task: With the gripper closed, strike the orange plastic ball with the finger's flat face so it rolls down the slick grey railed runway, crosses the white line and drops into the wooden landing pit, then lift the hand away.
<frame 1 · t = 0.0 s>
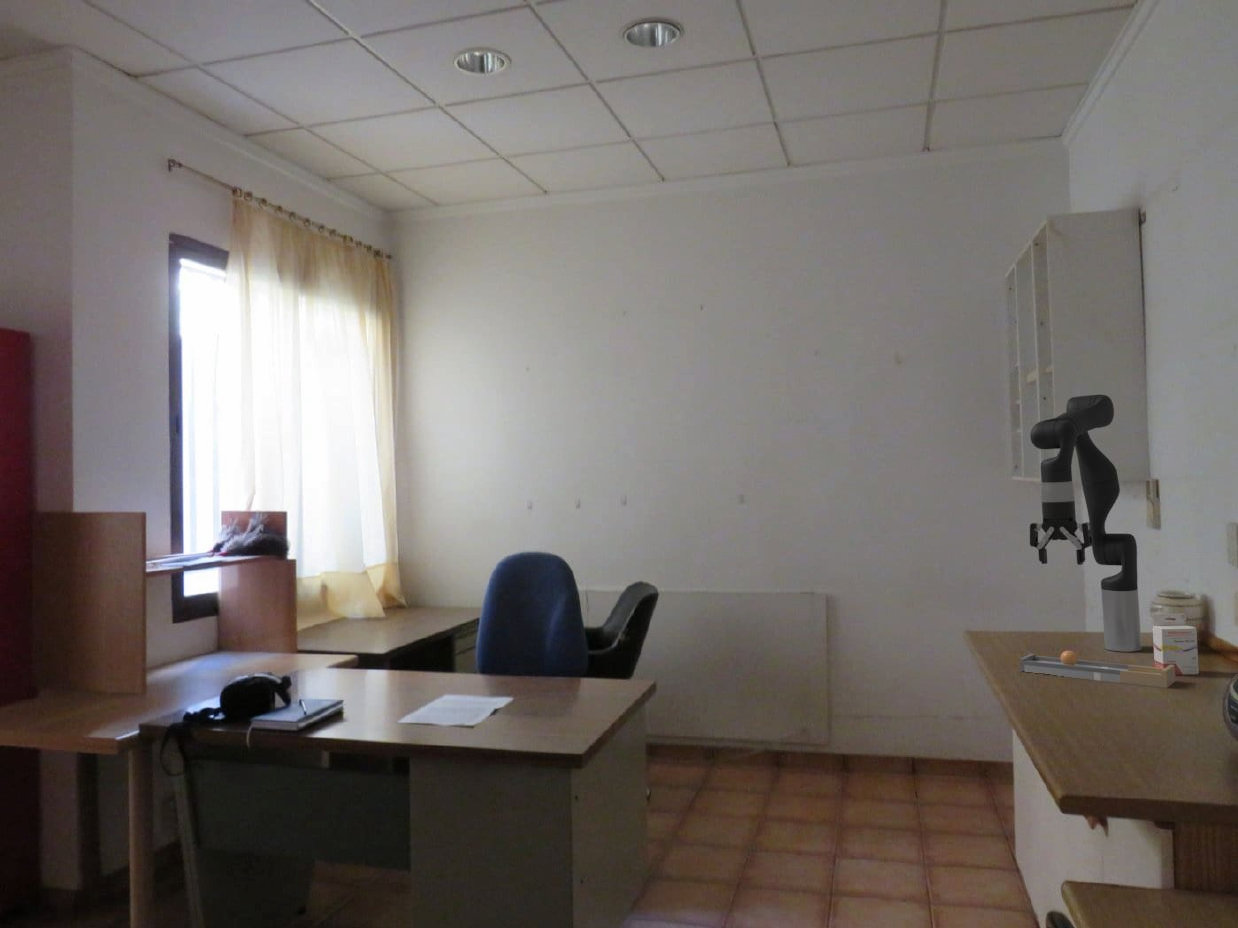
hand: (1062, 563, 227), 29 cm above the table, tool pointing down, fingers open, 8 cm apart
lane: (1099, 676, 228), on the table
ink cartridge box: (1177, 673, 228), on the table
ball: (1069, 658, 233), point 4 cm above the table, touching lane
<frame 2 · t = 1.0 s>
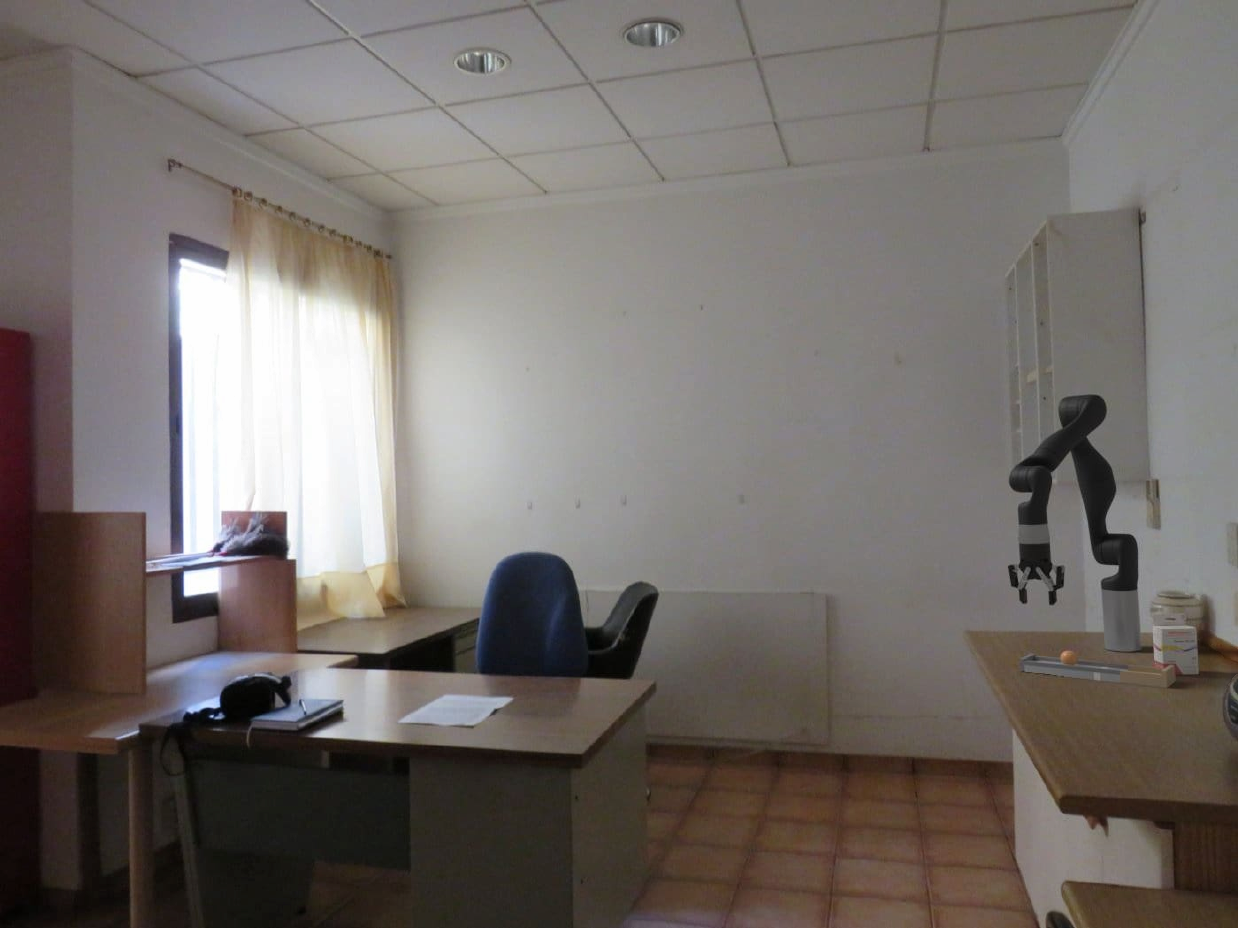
hand: (1038, 603, 238), 18 cm above the table, tool pointing down, fingers open, 6 cm apart
nothing on the table moved.
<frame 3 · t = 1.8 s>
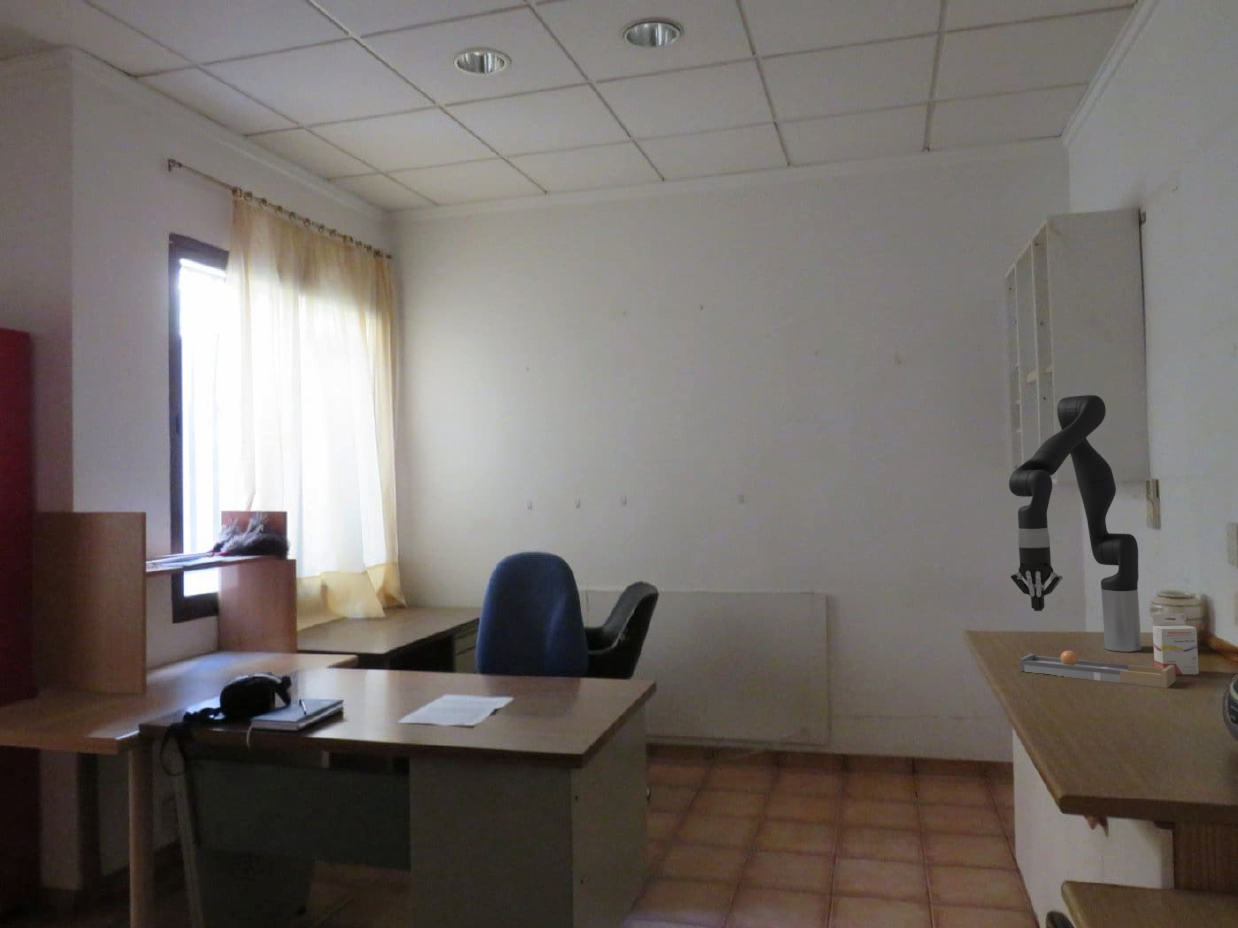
hand: (1038, 610, 238), 16 cm above the table, tool pointing down, fingers closed
nothing on the table moved.
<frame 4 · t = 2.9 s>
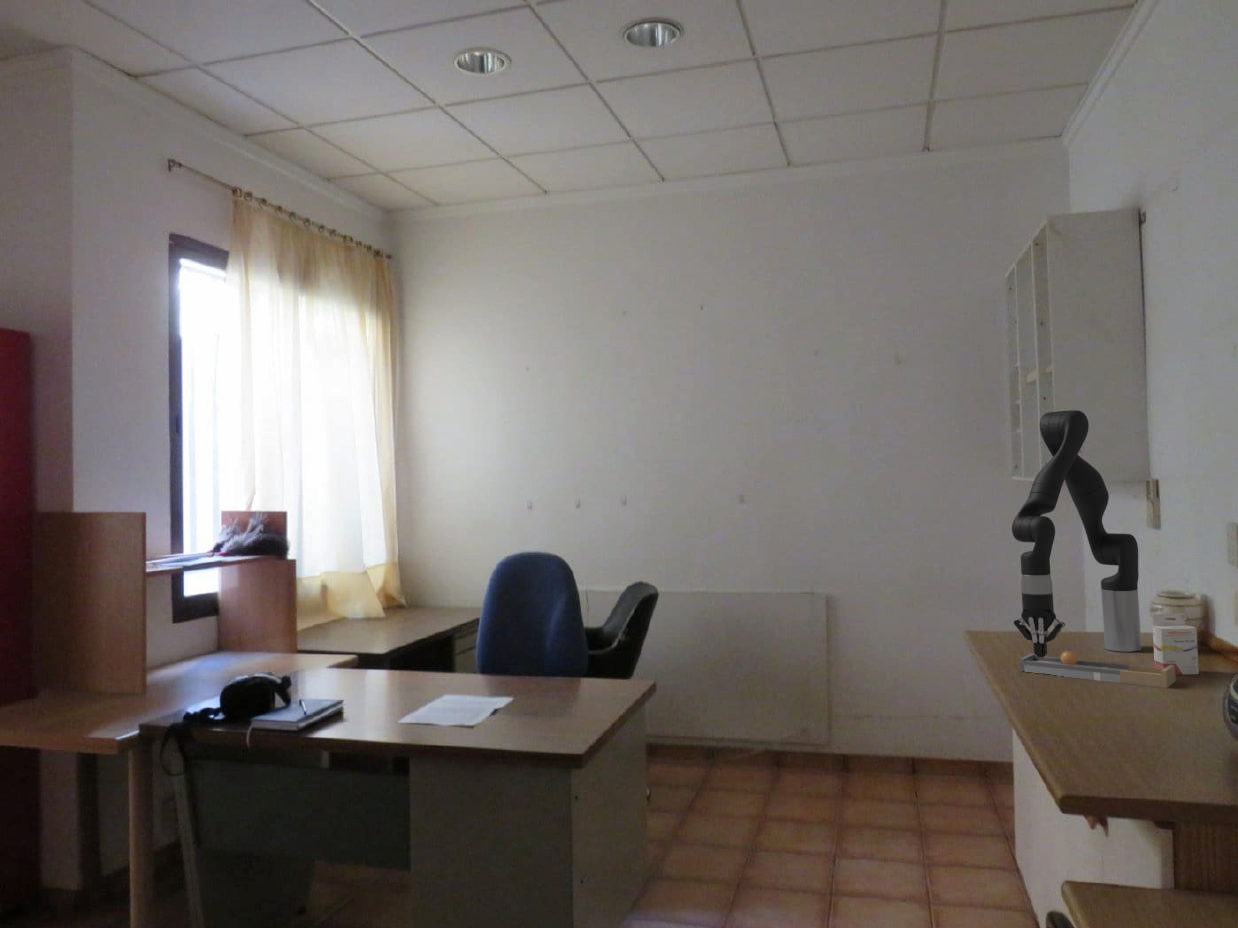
hand: (1040, 656, 237), 4 cm above the table, tool pointing down, fingers closed
nothing on the table moved.
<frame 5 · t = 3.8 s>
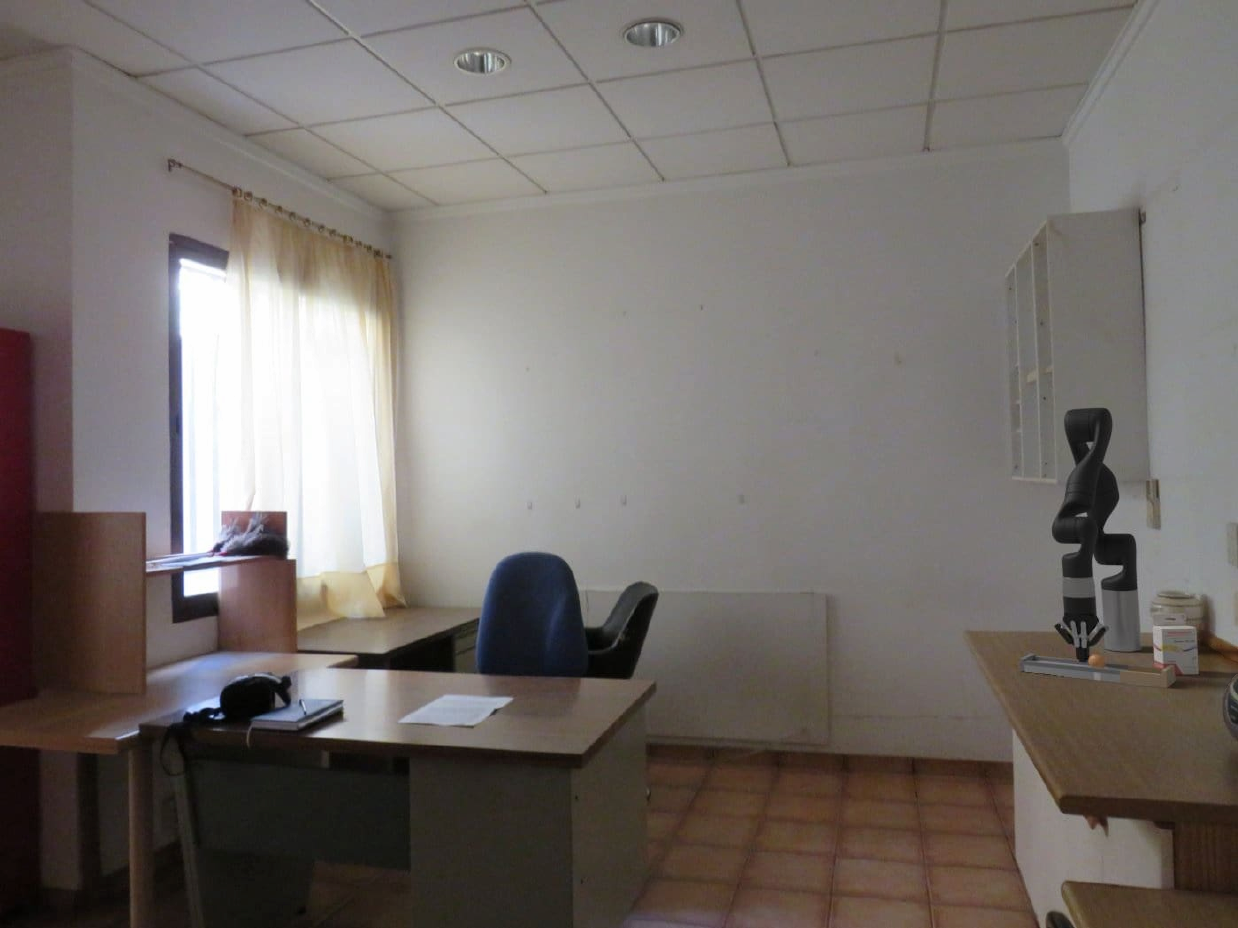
hand: (1083, 661, 230), 4 cm above the table, tool pointing down, fingers closed
ball: (1097, 661, 228), point 4 cm above the table, tilted 46°, touching lane
everything else where it was.
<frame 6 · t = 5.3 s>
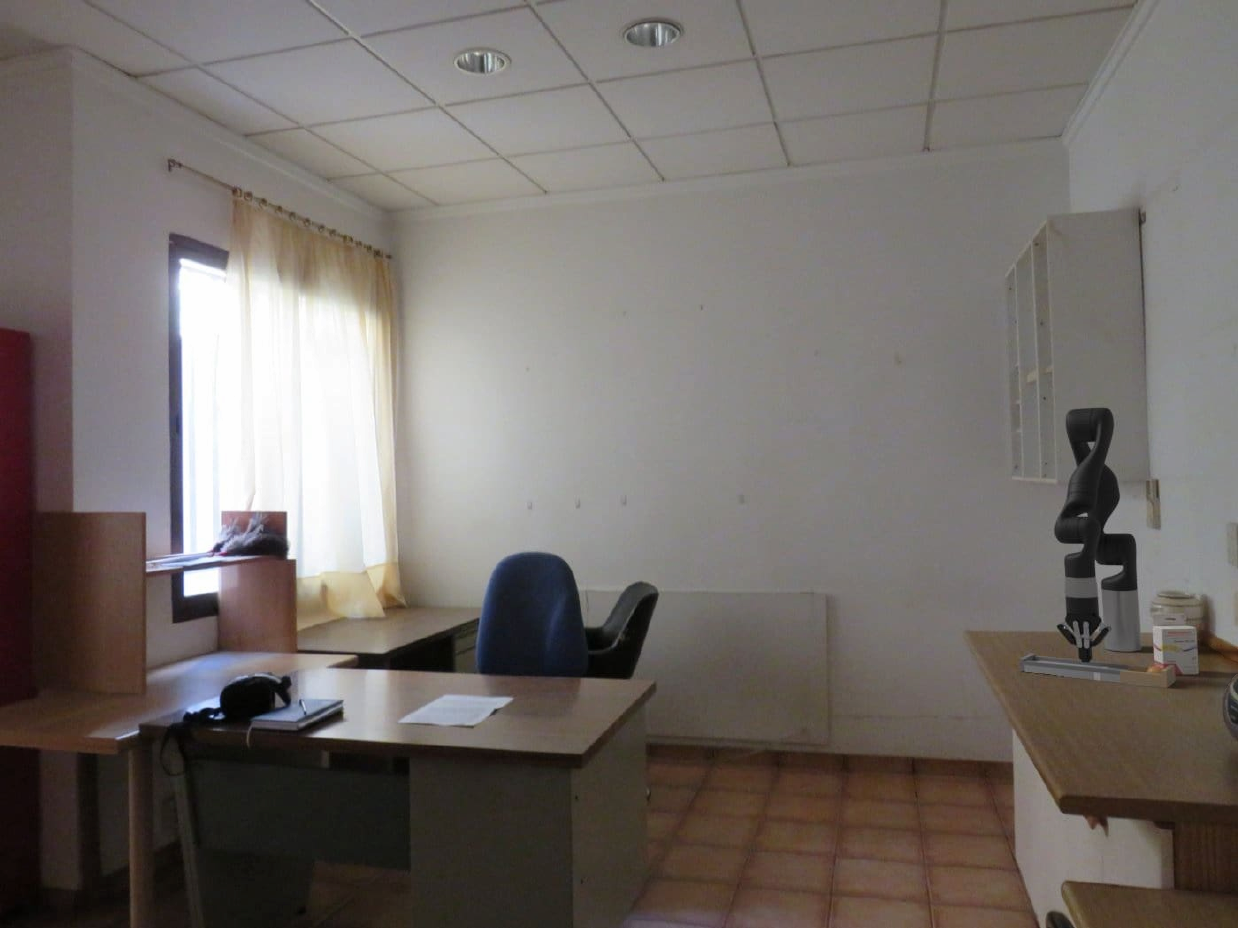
hand: (1085, 661, 230), 4 cm above the table, tool pointing down, fingers closed
ball: (1155, 674, 218), point 2 cm above the table, tilted 60°, touching lane
everything else where it was.
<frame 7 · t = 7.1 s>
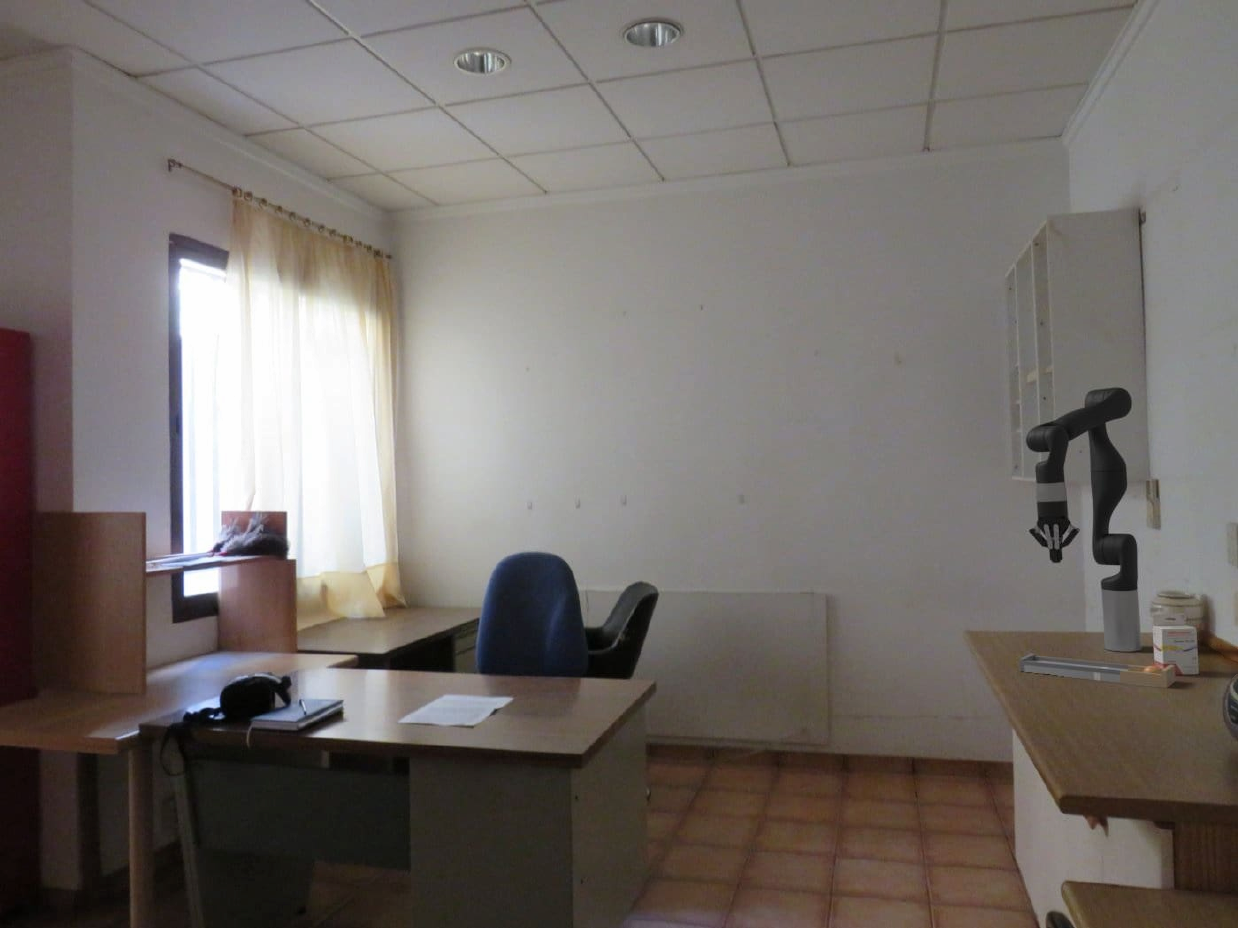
hand: (1056, 562, 245), 28 cm above the table, tool pointing down, fingers closed
ball: (1152, 673, 219), point 2 cm above the table, tilted 38°, touching lane
everything else where it was.
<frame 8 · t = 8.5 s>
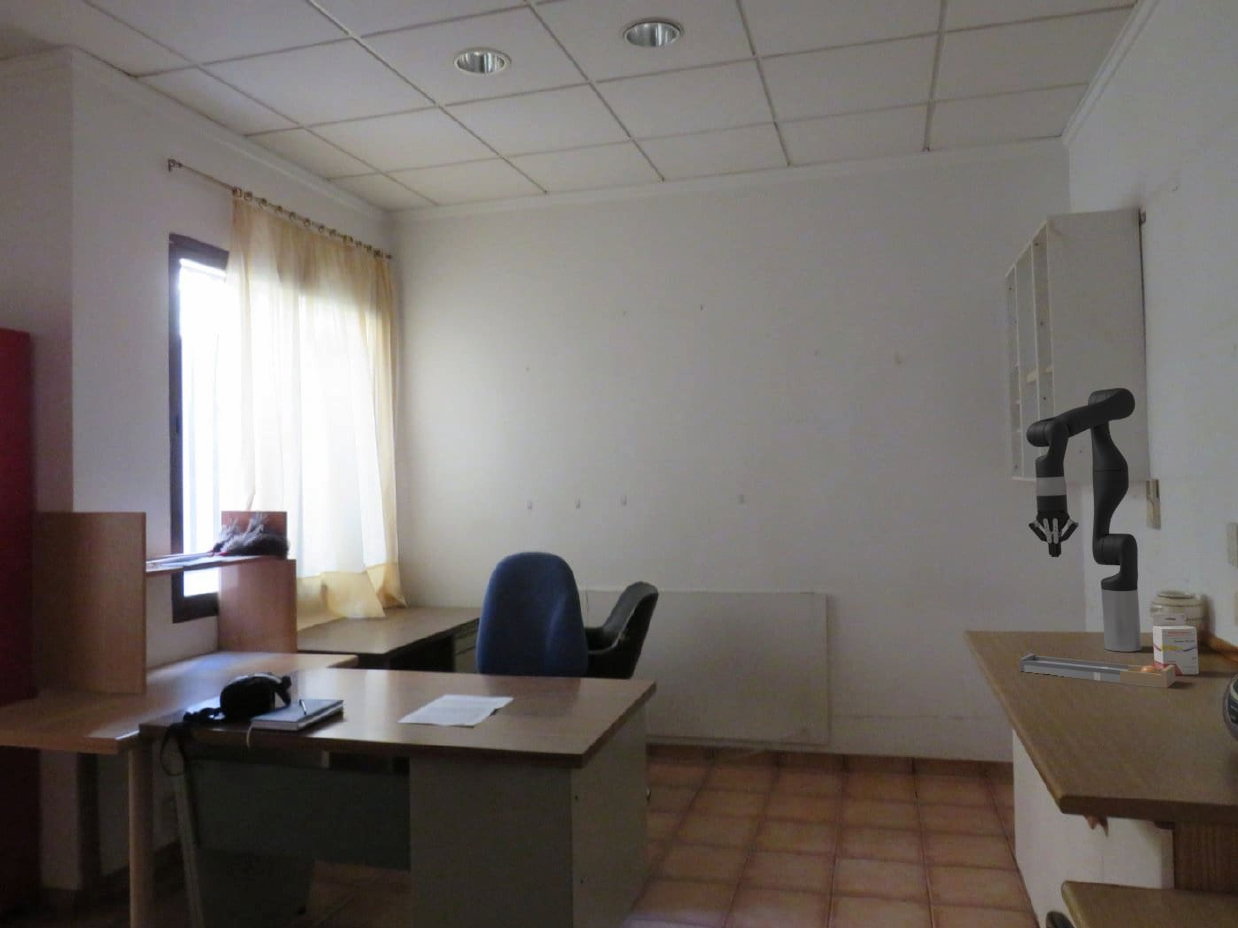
hand: (1055, 556, 246), 29 cm above the table, tool pointing down, fingers closed
ball: (1149, 673, 219), point 2 cm above the table, tilted 22°, touching lane
everything else where it was.
at the end: ball 0.9 cm from the target spot on the lane, point 2.2 cm above the lane's base; ball moved 18.6 cm from its start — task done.
